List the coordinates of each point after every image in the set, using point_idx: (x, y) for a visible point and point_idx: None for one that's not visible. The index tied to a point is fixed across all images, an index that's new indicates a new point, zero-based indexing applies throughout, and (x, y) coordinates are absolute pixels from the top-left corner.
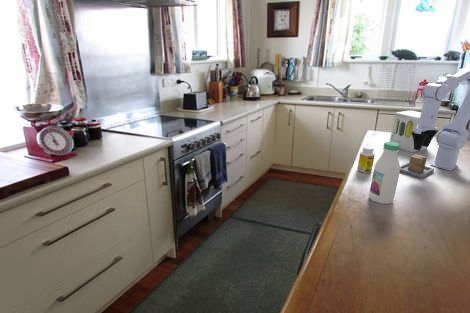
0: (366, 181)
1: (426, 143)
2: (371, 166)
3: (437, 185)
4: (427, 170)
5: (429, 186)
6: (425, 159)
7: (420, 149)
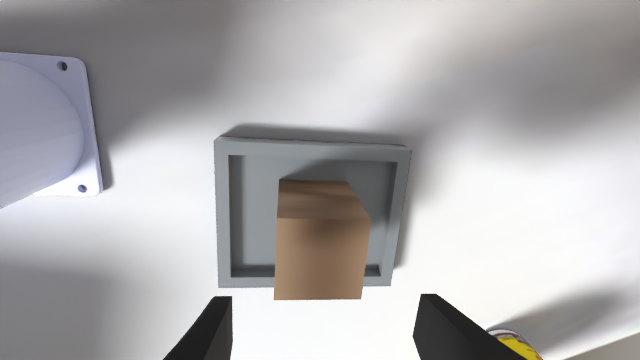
0: (605, 290)
1: (225, 341)
2: (526, 354)
3: (437, 45)
4: (250, 166)
5: (484, 74)
6: (301, 212)
7: (424, 298)
